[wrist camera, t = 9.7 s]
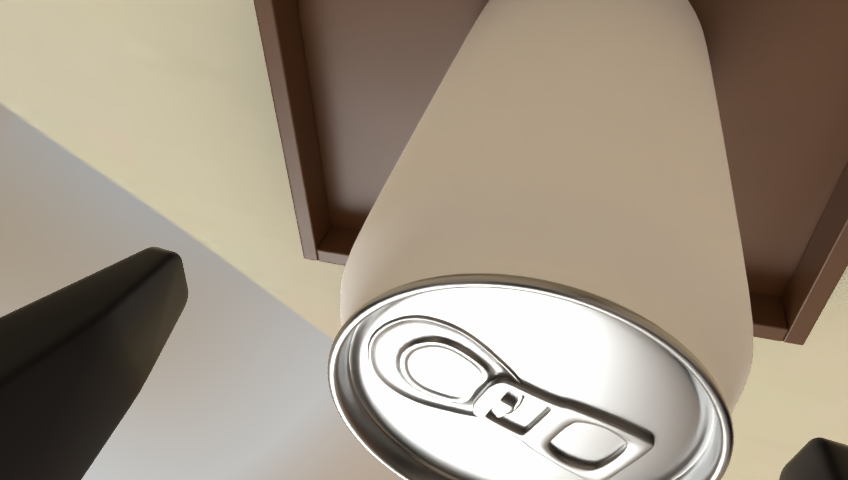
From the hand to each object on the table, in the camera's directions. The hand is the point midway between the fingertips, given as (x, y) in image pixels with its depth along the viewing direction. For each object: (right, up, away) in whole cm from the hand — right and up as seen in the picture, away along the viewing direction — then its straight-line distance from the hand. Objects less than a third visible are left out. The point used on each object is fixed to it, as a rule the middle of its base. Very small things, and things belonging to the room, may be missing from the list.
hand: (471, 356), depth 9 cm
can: (+4, +7, +9) cm, 12 cm away
